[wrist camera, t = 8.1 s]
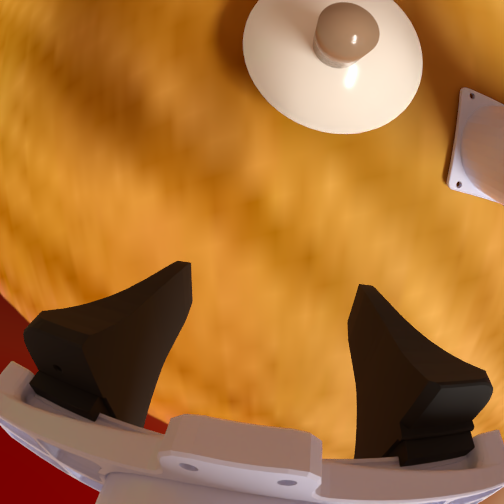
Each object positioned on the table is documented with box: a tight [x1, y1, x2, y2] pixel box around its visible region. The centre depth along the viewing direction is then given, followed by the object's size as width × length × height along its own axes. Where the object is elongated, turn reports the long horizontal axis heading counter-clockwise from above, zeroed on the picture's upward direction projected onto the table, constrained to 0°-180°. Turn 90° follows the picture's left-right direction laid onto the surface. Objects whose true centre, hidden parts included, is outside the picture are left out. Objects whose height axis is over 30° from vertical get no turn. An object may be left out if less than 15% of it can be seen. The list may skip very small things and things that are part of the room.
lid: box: [243, 0, 423, 134], centre depth 11 cm, size 10×10×5 cm
